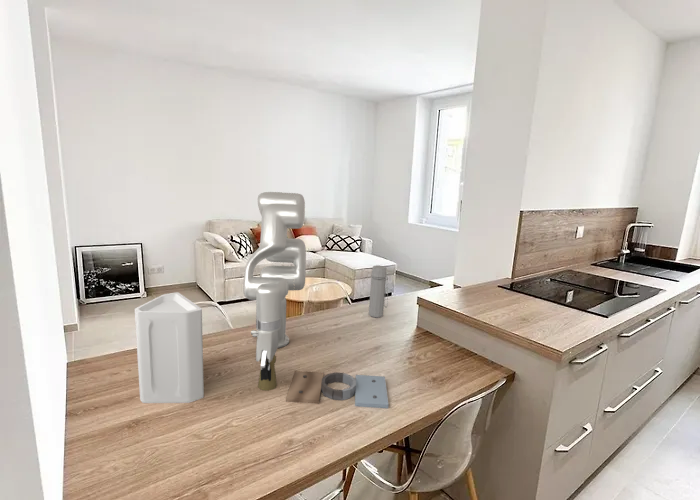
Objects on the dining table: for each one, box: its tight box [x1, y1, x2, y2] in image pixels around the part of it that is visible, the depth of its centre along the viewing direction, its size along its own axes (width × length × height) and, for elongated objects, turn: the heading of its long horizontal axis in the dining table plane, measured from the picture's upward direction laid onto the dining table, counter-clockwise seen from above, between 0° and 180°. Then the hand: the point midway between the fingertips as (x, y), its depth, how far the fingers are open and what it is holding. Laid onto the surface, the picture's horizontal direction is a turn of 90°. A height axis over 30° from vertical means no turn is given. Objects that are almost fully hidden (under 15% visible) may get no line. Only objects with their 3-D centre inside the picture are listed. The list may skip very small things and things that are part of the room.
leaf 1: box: [285, 370, 345, 405], centre depth 120 cm, size 17×16×3 cm
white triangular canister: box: [134, 291, 205, 404], centre depth 112 cm, size 19×15×28 cm
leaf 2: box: [341, 372, 389, 409], centre depth 120 cm, size 14×16×3 cm
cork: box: [257, 354, 278, 392], centre depth 120 cm, size 6×6×11 cm
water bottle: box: [368, 264, 389, 318], centre depth 184 cm, size 9×8×25 cm
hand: (267, 375), depth 120 cm, fingers closed on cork, 3 cm apart
